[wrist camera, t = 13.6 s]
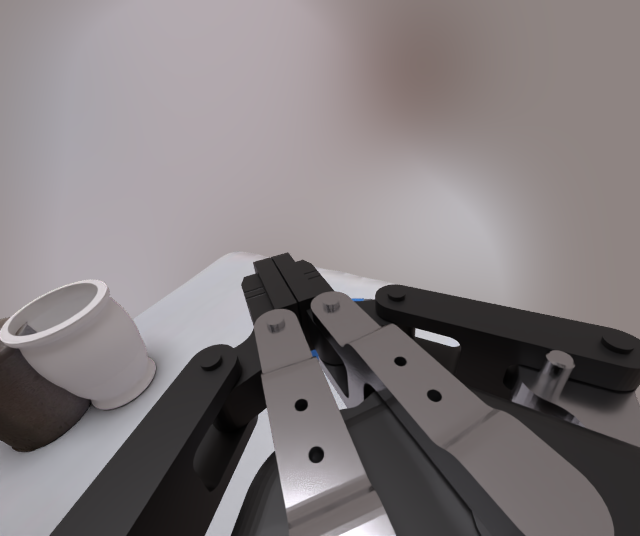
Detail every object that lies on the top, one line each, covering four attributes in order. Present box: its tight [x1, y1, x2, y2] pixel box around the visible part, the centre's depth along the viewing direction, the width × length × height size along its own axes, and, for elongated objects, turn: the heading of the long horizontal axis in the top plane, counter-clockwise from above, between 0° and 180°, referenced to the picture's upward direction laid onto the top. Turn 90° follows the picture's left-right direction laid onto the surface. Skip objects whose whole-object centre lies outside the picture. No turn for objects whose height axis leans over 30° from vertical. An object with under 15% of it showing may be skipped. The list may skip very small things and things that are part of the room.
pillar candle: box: [0, 317, 91, 452], centre depth 35 cm, size 10×10×15 cm
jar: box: [0, 280, 156, 410], centre depth 37 cm, size 11×10×15 cm
